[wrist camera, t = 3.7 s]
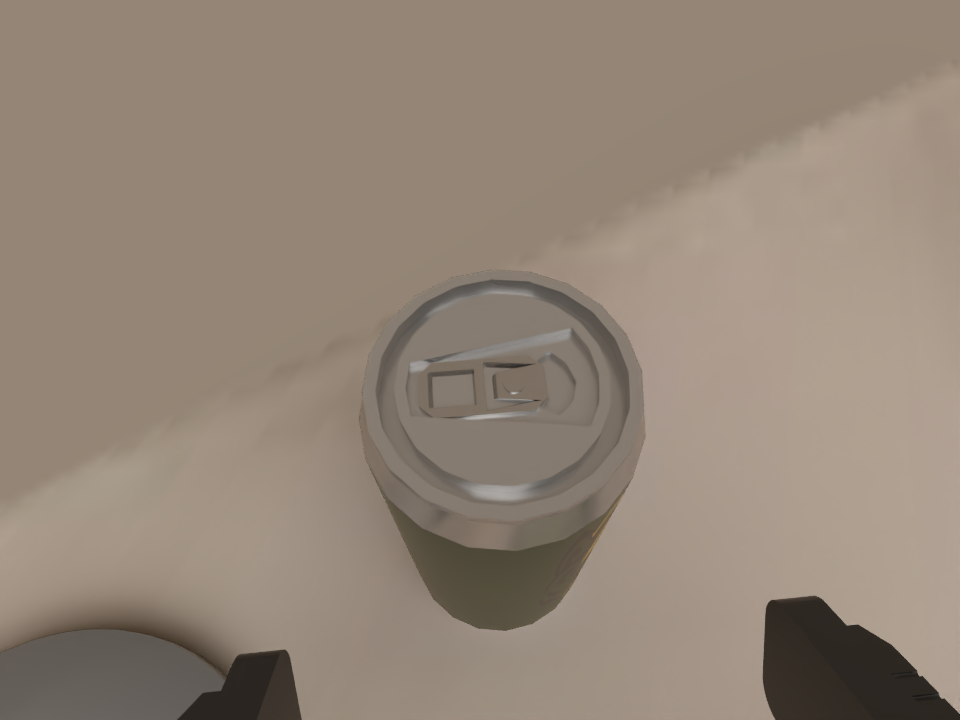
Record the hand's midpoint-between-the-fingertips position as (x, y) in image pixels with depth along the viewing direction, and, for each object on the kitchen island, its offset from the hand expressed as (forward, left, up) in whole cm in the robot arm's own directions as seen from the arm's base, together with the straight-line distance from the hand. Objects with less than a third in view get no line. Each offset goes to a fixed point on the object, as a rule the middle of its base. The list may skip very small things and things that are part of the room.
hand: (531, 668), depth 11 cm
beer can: (-1, -4, -10) cm, 11 cm away
